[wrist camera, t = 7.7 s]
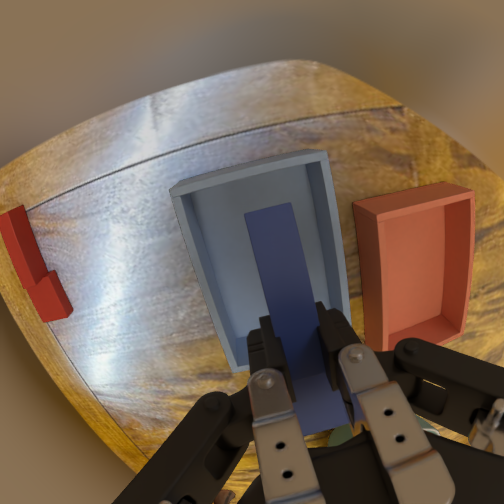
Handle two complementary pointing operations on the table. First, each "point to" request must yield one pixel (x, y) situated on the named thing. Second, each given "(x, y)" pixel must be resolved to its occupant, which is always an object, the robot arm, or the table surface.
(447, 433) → the table surface
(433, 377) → the robot arm
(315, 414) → the blue bar
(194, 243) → the blue bin
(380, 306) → the red bin
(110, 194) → the table surface
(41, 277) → the red stepped block
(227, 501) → the figurine
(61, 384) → the table surface
